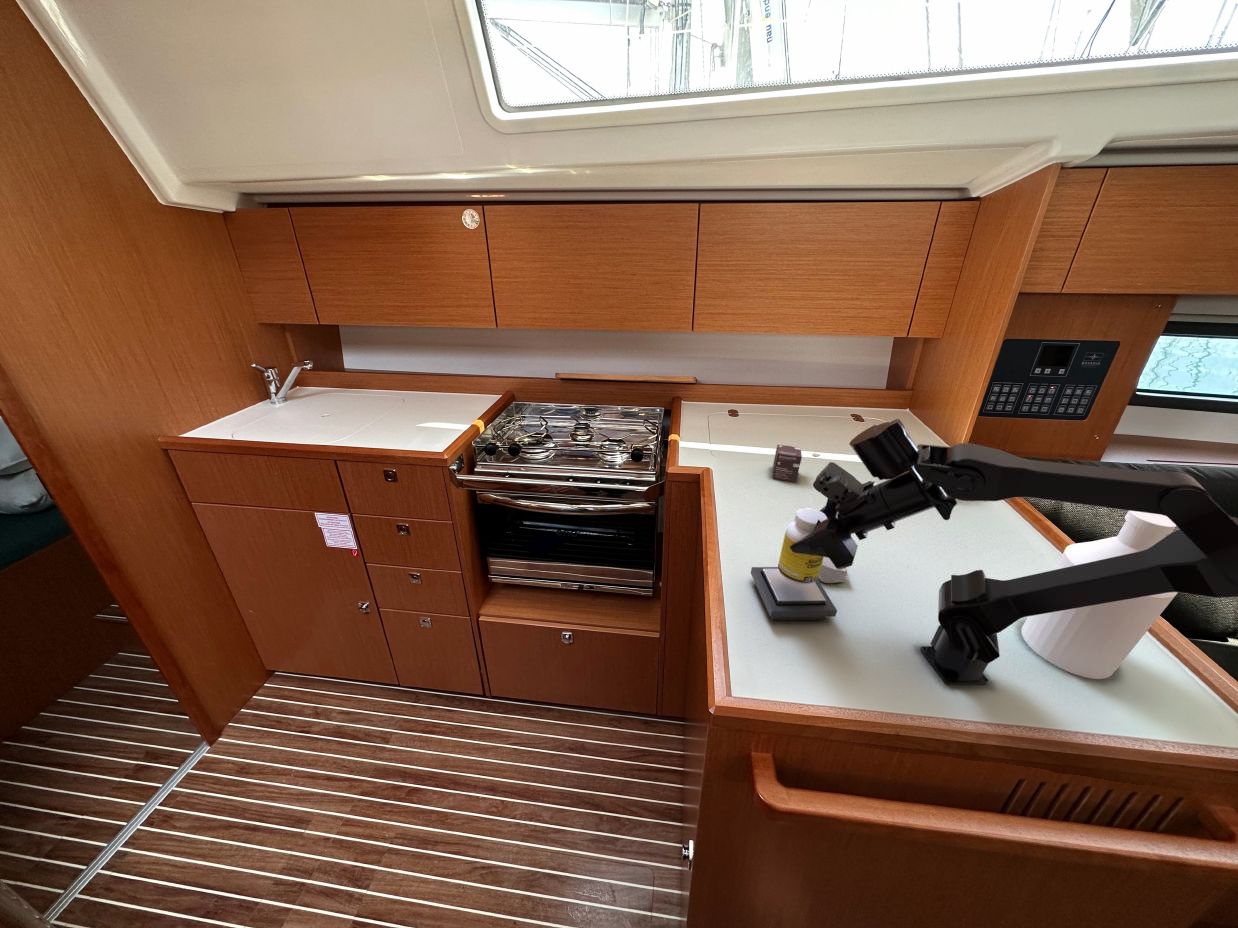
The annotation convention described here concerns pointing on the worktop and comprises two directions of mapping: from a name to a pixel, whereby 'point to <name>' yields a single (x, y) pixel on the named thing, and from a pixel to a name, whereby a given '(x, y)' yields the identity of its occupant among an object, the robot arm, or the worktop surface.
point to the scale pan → (791, 591)
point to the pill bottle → (797, 564)
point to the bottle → (1101, 607)
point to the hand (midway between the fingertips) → (796, 538)
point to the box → (786, 463)
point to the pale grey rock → (831, 572)
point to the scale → (791, 611)
